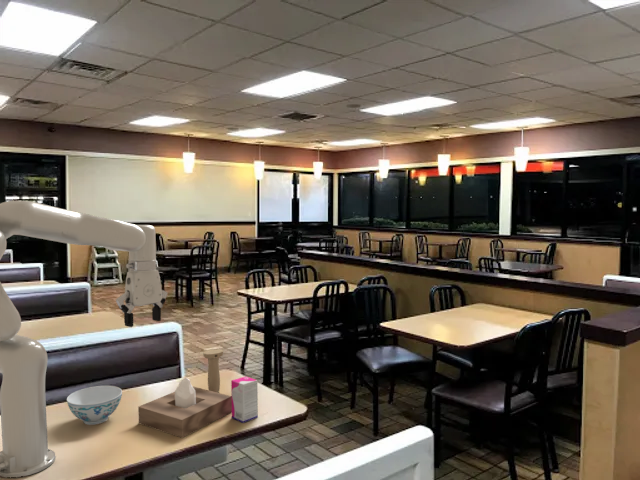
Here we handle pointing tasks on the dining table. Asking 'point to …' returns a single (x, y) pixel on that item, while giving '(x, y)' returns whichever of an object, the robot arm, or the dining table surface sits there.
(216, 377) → the handle
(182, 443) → the dining table surface
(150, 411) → the well block
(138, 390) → the dining table surface
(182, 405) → the white rounded piece
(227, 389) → the dining table surface
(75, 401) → the chinaware
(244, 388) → the supplement box
